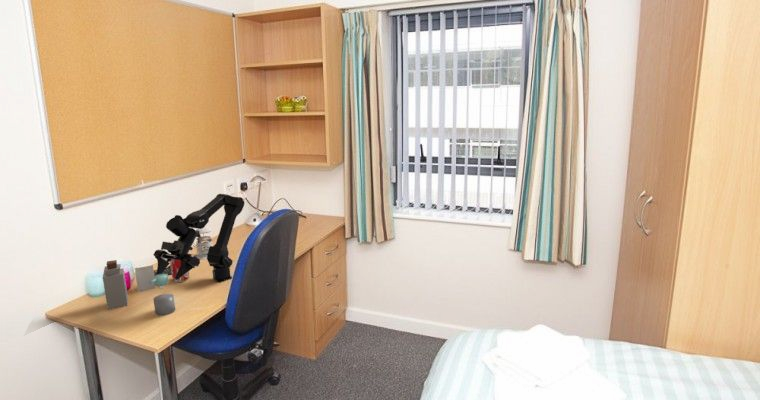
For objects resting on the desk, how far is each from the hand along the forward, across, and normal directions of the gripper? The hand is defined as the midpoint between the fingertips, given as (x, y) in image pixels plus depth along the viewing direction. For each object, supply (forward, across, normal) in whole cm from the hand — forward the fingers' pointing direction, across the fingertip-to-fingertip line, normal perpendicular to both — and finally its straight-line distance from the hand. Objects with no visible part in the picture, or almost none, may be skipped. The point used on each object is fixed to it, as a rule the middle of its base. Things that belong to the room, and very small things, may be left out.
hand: (166, 277), depth 170 cm
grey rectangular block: (+1, -24, +17) cm, 29 cm away
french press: (-27, -29, +45) cm, 60 cm away
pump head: (+5, 0, 0) cm, 5 cm away
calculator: (-10, -30, +29) cm, 43 cm away
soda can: (-7, -17, +25) cm, 31 cm away
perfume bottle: (+12, -23, +6) cm, 26 cm away
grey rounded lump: (+11, 0, +7) cm, 13 cm away
